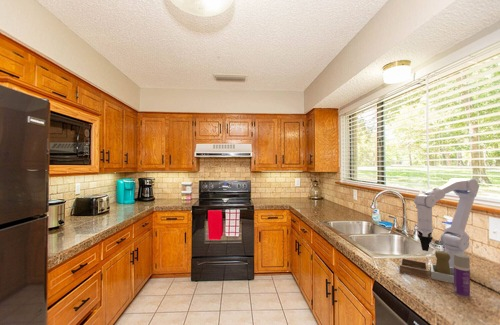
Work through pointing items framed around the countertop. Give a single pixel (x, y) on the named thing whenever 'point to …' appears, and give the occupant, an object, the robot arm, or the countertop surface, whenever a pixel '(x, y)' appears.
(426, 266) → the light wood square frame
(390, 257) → the countertop surface
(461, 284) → the container
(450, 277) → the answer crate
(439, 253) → the olive rounded piece
